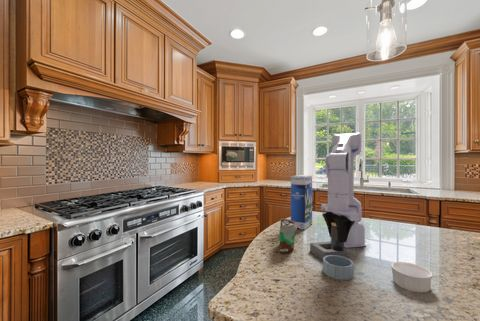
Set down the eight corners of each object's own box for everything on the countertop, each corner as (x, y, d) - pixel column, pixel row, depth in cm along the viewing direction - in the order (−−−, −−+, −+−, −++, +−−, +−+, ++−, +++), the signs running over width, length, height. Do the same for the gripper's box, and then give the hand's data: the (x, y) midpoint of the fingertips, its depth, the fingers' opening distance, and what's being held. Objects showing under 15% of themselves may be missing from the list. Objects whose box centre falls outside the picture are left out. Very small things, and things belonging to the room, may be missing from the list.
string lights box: (304, 230, 109) (305, 176, 110) (289, 227, 114) (289, 175, 114) (312, 224, 121) (312, 175, 121) (298, 222, 125) (298, 174, 125)
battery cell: (338, 246, 70) (338, 220, 70) (347, 250, 66) (347, 223, 66) (328, 247, 69) (328, 220, 69) (336, 251, 65) (336, 223, 66)
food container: (297, 256, 79) (297, 227, 79) (279, 255, 80) (279, 226, 80) (296, 244, 91) (296, 218, 91) (280, 242, 92) (280, 218, 92)
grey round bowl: (340, 265, 73) (340, 254, 73) (359, 278, 65) (359, 265, 65) (317, 267, 71) (317, 256, 71) (334, 281, 63) (334, 268, 63)
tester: (331, 249, 86) (331, 240, 86) (348, 259, 77) (348, 249, 77) (310, 251, 84) (310, 242, 84) (324, 261, 75) (324, 251, 75)
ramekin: (435, 298, 55) (435, 280, 55) (391, 287, 60) (391, 271, 60) (429, 282, 63) (429, 266, 63) (390, 273, 67) (390, 259, 67)
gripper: (312, 190, 74) (312, 232, 74) (342, 197, 60) (342, 249, 60) (332, 190, 76) (331, 231, 75) (365, 196, 61) (365, 247, 61)
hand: (337, 239), depth 68 cm, fingers closed on battery cell, 4 cm apart
